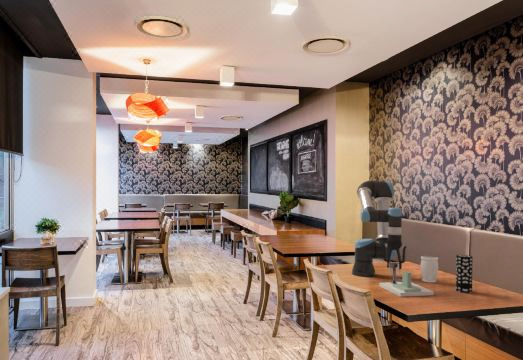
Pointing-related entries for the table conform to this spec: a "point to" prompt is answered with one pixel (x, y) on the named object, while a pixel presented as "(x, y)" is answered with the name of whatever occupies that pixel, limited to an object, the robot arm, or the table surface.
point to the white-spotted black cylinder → (464, 273)
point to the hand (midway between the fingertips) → (394, 274)
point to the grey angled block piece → (394, 271)
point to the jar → (429, 268)
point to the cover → (406, 283)
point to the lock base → (400, 293)
